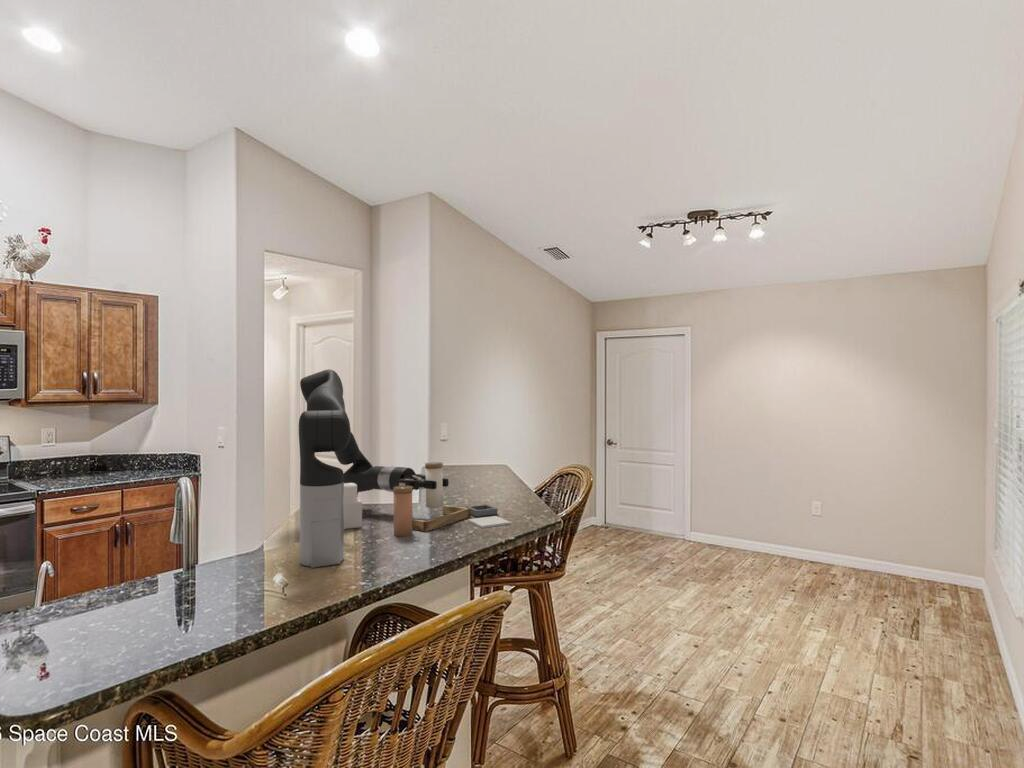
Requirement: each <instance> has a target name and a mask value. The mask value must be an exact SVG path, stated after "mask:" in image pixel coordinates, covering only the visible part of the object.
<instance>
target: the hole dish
mask: <svg viewBox="0 0 1024 768" xmlns="http://www.w3.org/2000/svg"><path fill="white" fill-rule="evenodd" d="M465 508H470V516H471V515H472V516H471V517H474V518H482V517H491V516H498V508H497V507H495V506H492V505H490V504H488V503H486V504H478V505H469V506H465Z"/></svg>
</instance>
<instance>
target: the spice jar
mask: <svg viewBox="0 0 1024 768" xmlns="http://www.w3.org/2000/svg"><path fill="white" fill-rule="evenodd" d="M424 468H425V475H426V480H429V481H436V482H437V488H436V489H426V488H425V508H428V509H436V508H443V506H444V494H443V493H444V490H443V489H444V488H443V487H444V486H443V477H444V476H443V475H444V473H443V468H444V464H443V462H441V461H440V462H439V461H438V462H437V461H435V462H425V463H424Z"/></svg>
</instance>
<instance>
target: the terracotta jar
mask: <svg viewBox="0 0 1024 768" xmlns="http://www.w3.org/2000/svg"><path fill="white" fill-rule="evenodd" d="M413 491H414V490H413V487H412V486H395V487H393V492H392V493H393V536H395V535H396V536H397V537H409V536H412V535H413V529H412V519H413ZM411 534H412V535H411ZM408 535H409V536H408Z"/></svg>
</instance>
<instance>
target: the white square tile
mask: <svg viewBox="0 0 1024 768" xmlns="http://www.w3.org/2000/svg"><path fill="white" fill-rule="evenodd" d="M467 522H468V523H470V524H472V525H475V526H476V527H478V528H481V529H485V528H493V527H499V526H501V527H502V526H506V525H507V526H509V525H511V523H512V522H511V521H509V520H507V519H504V518H502V517H500V516H498V515H495V516H486V517H478V518H476V517H474V518H467Z"/></svg>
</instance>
